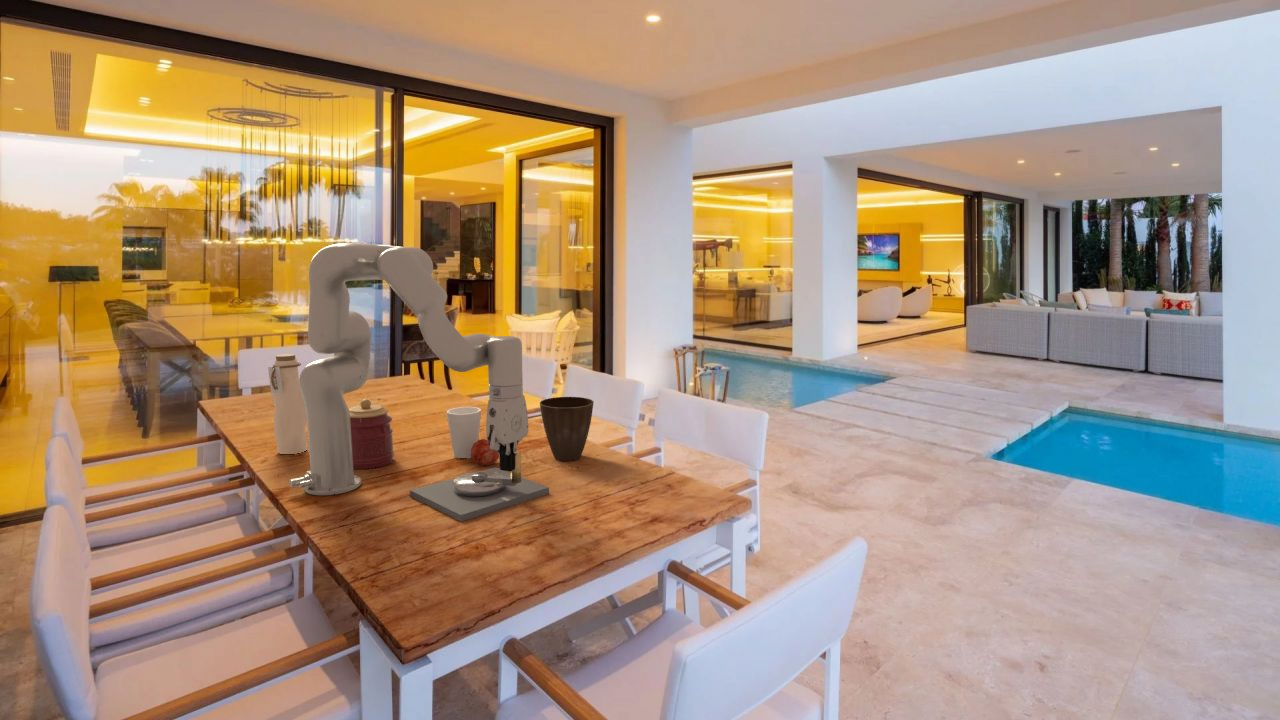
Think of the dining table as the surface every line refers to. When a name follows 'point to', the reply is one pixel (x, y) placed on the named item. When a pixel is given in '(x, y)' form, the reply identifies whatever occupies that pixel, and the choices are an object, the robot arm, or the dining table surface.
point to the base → (471, 507)
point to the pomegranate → (483, 453)
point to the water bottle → (288, 405)
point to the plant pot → (566, 425)
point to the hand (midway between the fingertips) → (507, 469)
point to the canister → (371, 435)
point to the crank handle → (487, 481)
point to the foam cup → (463, 429)
